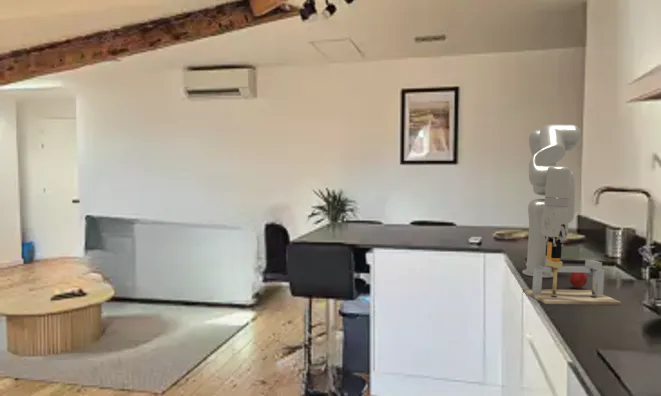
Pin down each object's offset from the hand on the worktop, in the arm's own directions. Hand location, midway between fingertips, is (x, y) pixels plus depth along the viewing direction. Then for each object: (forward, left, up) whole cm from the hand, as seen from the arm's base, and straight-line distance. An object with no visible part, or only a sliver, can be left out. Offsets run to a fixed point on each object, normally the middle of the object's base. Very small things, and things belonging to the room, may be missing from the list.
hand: (553, 256), depth 178 cm
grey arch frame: (+1, +6, -13) cm, 15 cm away
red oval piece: (-14, +18, -14) cm, 27 cm away
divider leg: (+1, 0, -12) cm, 12 cm away
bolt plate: (0, +7, -14) cm, 16 cm away
